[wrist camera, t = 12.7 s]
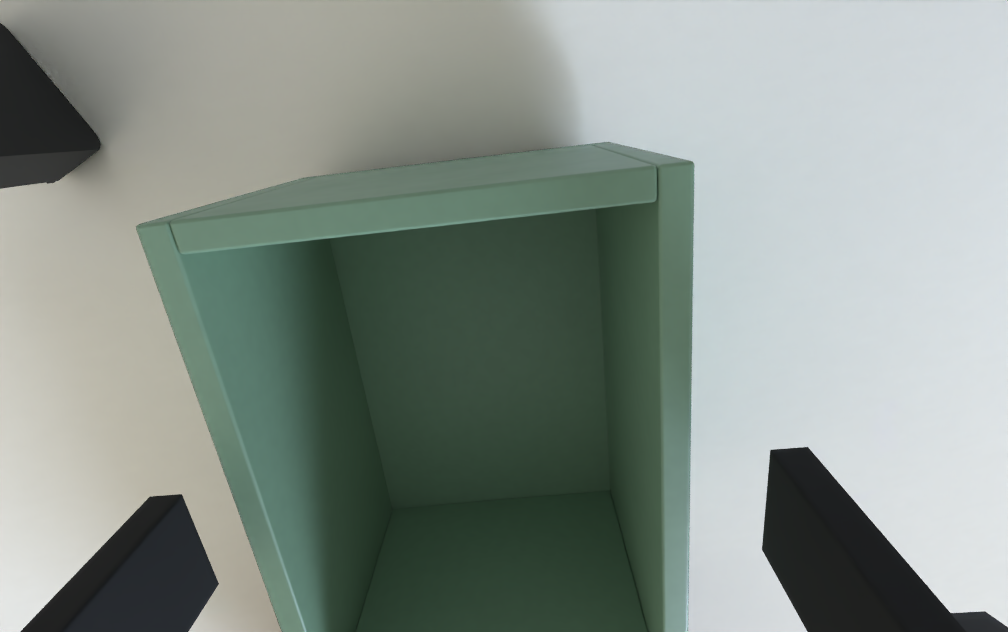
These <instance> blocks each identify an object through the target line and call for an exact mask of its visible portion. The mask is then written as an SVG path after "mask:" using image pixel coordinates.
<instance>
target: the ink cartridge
mask: <svg viewBox="0 0 1008 632" xmlns="http://www.w3.org/2000/svg"><path fill="white" fill-rule="evenodd" d="M99 149H100V141H99V139H98V137H97V136H96V134H95V133H94V132H93V130H92V129H91V128H90V127H89V126H88V124H87V123H86V122H85V121H84V120H83V118H82V117H81V116H80V115H79V114H78V112H77V111H76V110H75V109H74V108H73V106H72V105H71V104H70V103H69V102H68V100H67V99H66V98H65V97H64V96H63V94H62V93H61V92H60V91H59V90H58V88H57V87H56V86H55V85H54V84H53V82H52V81H51V80H50V79H49V78H48V76H47V75H46V74H45V73H44V72H43V71H42V69H41V68H40V67H39V66H38V65H37V63H36V62H35V61H34V60H33V59H32V58H31V56H30V55H29V54H28V53H27V52H26V50H25V49H24V48H23V47H22V46H21V45H20V43H19V42H18V41H17V40H16V39H15V38H14V36H13V35H12V34H11V33H10V32H9V30H8V29H7V28H6V27H5V26H3V25H2V24H1V23H0V188H7V187H15V186H22V185H30V184H37V183H45V182H46V183H54V182H55V181H59V180H60V179H61V178H62V177H64V176H65V175H66V174H68V173H69V172H70V171H72V170H73V169H74V168H76V167H77V166H78V165H80V164H81V163H82V162H83V161H85V160H86V159H87V158H89V157H90V156H91V155H93V154H94V153H95V152H97V151H98V150H99Z"/></svg>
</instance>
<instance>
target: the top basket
mask: <svg viewBox="0 0 1008 632" xmlns="http://www.w3.org/2000/svg"><path fill="white" fill-rule="evenodd" d="M693 223H694V163H693V162H692V161H688V160H684V159H680V158H675V157H671V156H667V155H662V154H658V153H654V152H649V151H645V150H641V149H637V148H632V147H628V146H624V145H619V144H615V143H611V142H603V143H595V144H586V145H578V146H569V147H561V148H552V149H544V150H535V151H527V152H518V153H510V154H501V155H493V156H484V157H476V158H467V159H459V160H450V161H442V162H433V163H425V164H416V165H408V166H399V167H391V168H382V169H374V170H365V171H357V172H348V173H340V174H331V175H323V176H314V177H306V178H301V179H298V180H294V181H291V182H287V183H284V184H280V185H276V186H273V187H269V188H266V189H262V190H259V191H255V192H252V193H248V194H244V195H241V196H237V197H234V198H230V199H227V200H223V201H220V202H216V203H212V204H209V205H205V206H202V207H198V208H195V209H191V210H188V211H184V212H181V213H177V214H173V215H170V216H166V217H163V218H159V219H156V220H152V221H149V222H145V223H141V224H139V225H137V226H136V230H137V232H138V235H139V238H140V241H141V243H142V246H143V249H144V252H145V254H146V257H147V260H148V263H149V266H150V268H151V271H152V274H153V277H154V279H155V282H156V285H157V288H158V290H159V293H160V296H161V299H162V302H163V304H164V307H165V310H166V313H167V315H168V318H169V321H170V324H171V326H172V329H173V332H174V335H175V338H176V340H177V343H178V346H179V349H180V351H181V354H182V357H183V360H184V362H185V365H186V368H187V371H188V374H189V376H190V379H191V382H192V385H193V387H194V390H195V393H196V396H197V398H198V401H199V404H200V407H201V410H202V412H203V415H204V418H205V421H206V423H207V426H208V429H209V432H210V434H211V437H212V440H213V443H214V446H215V448H216V451H217V454H218V457H219V459H220V462H221V465H222V468H223V470H224V473H225V476H226V479H227V482H228V484H229V487H230V490H231V493H232V495H233V498H234V501H235V504H236V506H237V509H238V512H239V515H240V518H241V520H242V523H243V526H244V529H245V531H246V534H247V537H248V540H249V542H250V545H251V548H252V551H253V554H254V556H255V559H256V562H257V565H258V567H259V570H260V573H261V576H262V578H263V581H264V584H265V587H266V589H267V592H268V595H269V598H270V601H271V603H272V606H273V609H274V612H275V614H276V617H277V620H278V623H279V625H280V628H281V631H282V632H688V594H689V520H690V446H691V372H692V297H693Z"/></svg>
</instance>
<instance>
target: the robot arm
mask: <svg viewBox="0 0 1008 632" xmlns="http://www.w3.org/2000/svg"><path fill="white" fill-rule="evenodd" d="M762 550H763V552H764V554H765V556H766V557H767V559H768V561H769V563H770V565H771V566H772V568H773V570H774V572H775V574H776V575H777V577H778V579H779V581H780V583H781V584H782V586H783V588H784V590H785V592H786V593H787V595H788V597H789V599H790V601H791V603H792V604H793V606H794V608H795V610H796V612H797V613H798V615H799V617H800V619H801V621H802V622H803V624H804V626H805V628H806V630H807V631H808V632H1008V627H1006V626H1005V625H1004V624H1002V623H1001V622H999V621H998V620H996V619H995V618H994V617H992V616H991V615H989V614H988V613H986V612H967V613H950V612H949V611H948V610H947V609H946V607H945V606H944V605H943V604H942V603H941V602H940V600H939V599H938V598H937V597H936V596H935V595H934V593H933V592H932V591H931V590H930V589H929V588H928V586H927V585H926V584H925V583H924V582H923V581H922V579H921V578H920V577H919V576H918V575H917V574H916V572H915V571H914V570H913V569H912V568H911V567H910V566H909V564H908V563H907V562H906V561H905V560H904V559H903V557H902V556H901V555H900V554H899V553H898V552H897V550H896V549H895V548H894V547H893V546H892V545H891V543H890V542H889V541H888V540H887V539H886V538H885V536H884V535H883V534H882V533H881V532H880V531H879V529H878V528H877V527H876V526H875V525H874V524H873V522H872V521H871V520H870V519H869V518H868V517H867V515H866V514H865V513H864V512H863V511H862V510H861V508H860V507H859V506H858V505H857V504H856V503H855V502H854V500H853V499H852V498H851V497H850V496H849V495H848V493H847V492H846V491H845V490H844V489H843V488H842V486H841V485H840V484H839V483H838V482H837V481H836V479H835V478H834V477H833V476H832V475H831V474H830V472H829V471H828V470H827V469H826V468H825V467H824V465H823V464H822V463H821V462H820V461H819V460H818V458H817V457H816V456H815V455H814V454H813V453H812V451H811V450H810V449H809V448H808V447H803V448H790V449H777V450H771V451H770V463H769V474H768V486H767V498H766V510H765V522H764V534H763V546H762ZM218 584H219V583H218V581H217V579H216V576H215V574H214V571H213V569H212V566H211V564H210V562H209V559H208V557H207V554H206V552H205V549H204V547H203V545H202V542H201V540H200V537H199V535H198V533H197V530H196V528H195V525H194V523H193V520H192V518H191V516H190V513H189V511H188V508H187V506H186V504H185V501H184V499H183V496H182V494H180V495H167V496H153V497H149V498H148V499H147V500H146V501H145V502H144V504H143V505H142V506H141V507H140V508H139V509H138V510H137V511H136V512H135V513H134V514H133V515H132V516H131V517H130V518H129V519H128V520H127V521H126V522H125V523H124V524H123V525H122V526H121V527H120V528H119V530H118V531H117V532H116V533H115V534H114V535H113V536H112V537H111V538H110V539H109V540H108V541H107V542H106V543H105V544H104V545H103V546H102V547H101V548H100V549H99V550H98V551H97V552H96V553H95V555H94V556H93V557H92V558H91V559H90V560H89V561H88V562H87V563H86V564H85V565H84V566H83V567H82V568H81V569H80V570H79V571H78V572H77V573H76V574H75V575H74V576H73V577H72V578H71V580H70V581H69V582H68V583H67V584H66V585H65V586H64V587H63V588H62V589H61V590H60V591H59V592H58V593H57V594H56V595H55V596H54V597H53V598H52V599H51V600H50V601H49V602H48V603H47V605H46V606H45V607H44V608H43V609H42V610H41V611H40V612H39V613H38V614H37V615H36V616H35V617H34V618H33V619H32V620H31V621H30V622H29V623H28V624H27V625H26V626H25V627H24V628H23V630H22V631H21V632H188V631H189V630H190V628H191V627H192V625H193V623H194V622H195V620H196V619H197V617H198V616H199V614H200V612H201V611H202V609H203V608H204V606H205V605H206V603H207V602H208V600H209V598H210V597H211V595H212V594H213V592H214V591H215V589H216V587H217V586H218Z"/></svg>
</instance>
